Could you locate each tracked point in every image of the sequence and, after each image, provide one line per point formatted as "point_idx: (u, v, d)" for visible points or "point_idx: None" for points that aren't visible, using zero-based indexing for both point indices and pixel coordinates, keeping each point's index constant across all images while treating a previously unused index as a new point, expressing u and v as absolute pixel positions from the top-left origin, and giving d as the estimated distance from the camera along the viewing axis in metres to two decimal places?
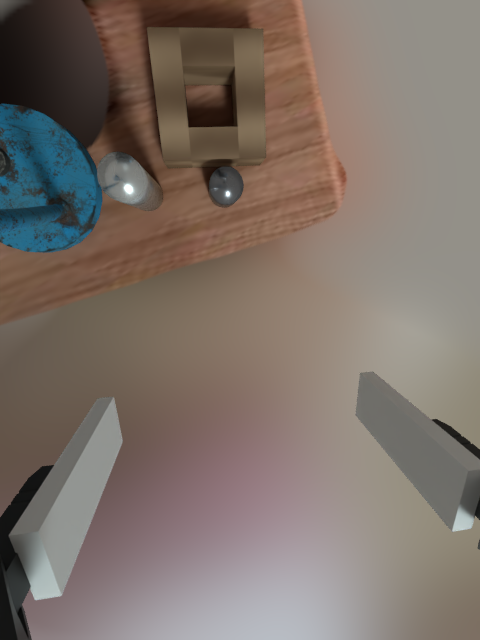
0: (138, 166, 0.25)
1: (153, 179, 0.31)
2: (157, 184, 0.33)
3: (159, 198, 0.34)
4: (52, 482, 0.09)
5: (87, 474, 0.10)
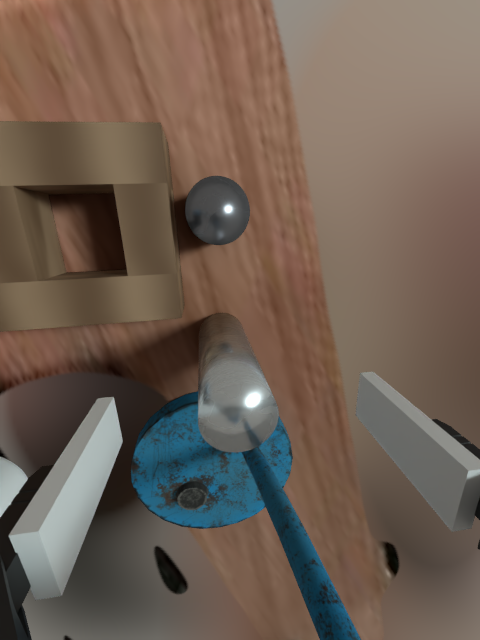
0: (220, 391, 0.13)
1: (211, 336, 0.20)
2: (213, 325, 0.21)
3: (232, 323, 0.22)
4: (52, 482, 0.09)
5: (87, 474, 0.10)
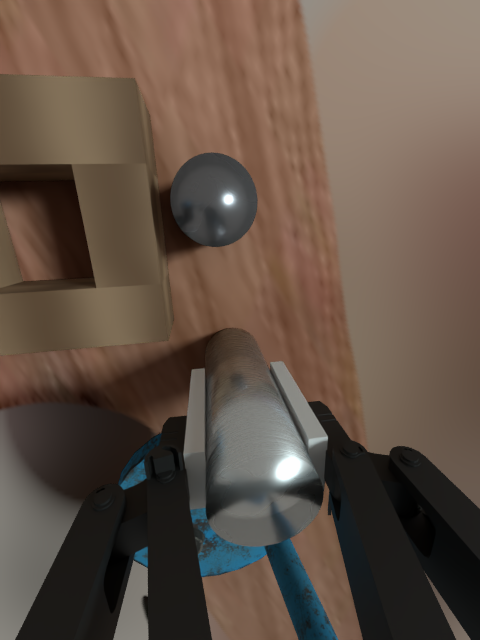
0: (240, 468, 0.09)
1: (222, 362, 0.15)
2: (224, 347, 0.17)
3: (247, 343, 0.18)
4: (193, 423, 0.12)
5: None
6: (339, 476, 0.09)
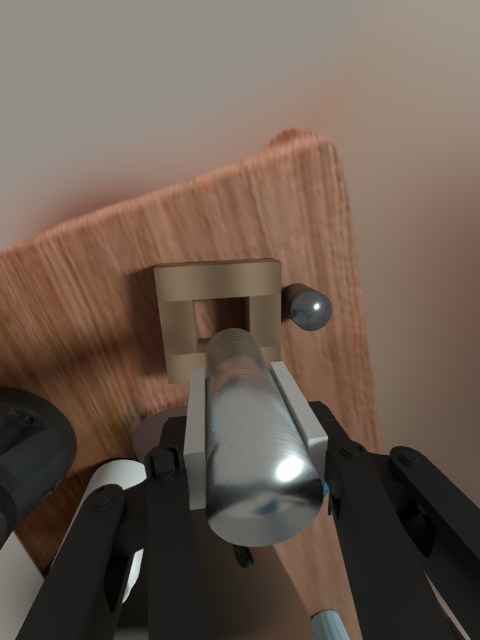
0: (240, 468, 0.09)
1: (222, 362, 0.15)
2: (224, 346, 0.17)
3: (247, 343, 0.18)
4: (193, 423, 0.12)
5: None
6: (339, 476, 0.09)
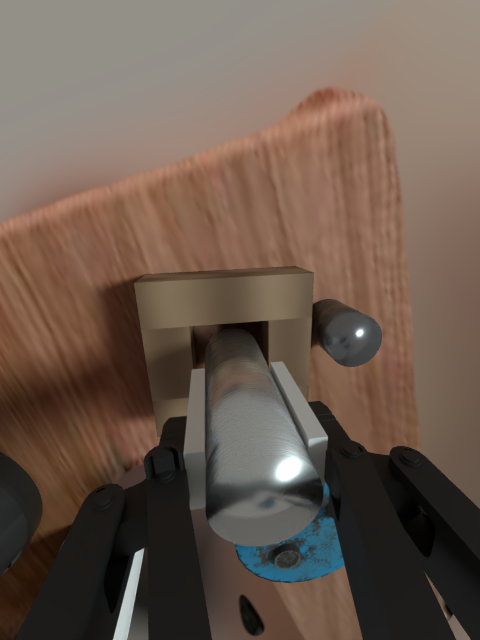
0: (240, 467, 0.09)
1: (222, 362, 0.15)
2: (224, 346, 0.17)
3: (247, 343, 0.18)
4: (193, 423, 0.12)
5: None
6: (339, 476, 0.09)
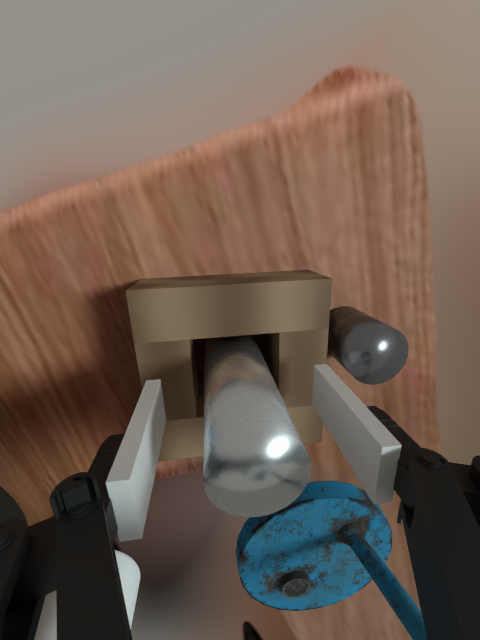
0: (234, 441, 0.10)
1: (220, 354, 0.16)
2: (222, 340, 0.18)
3: (244, 337, 0.19)
4: (128, 445, 0.10)
5: (150, 442, 0.12)
6: (414, 483, 0.09)
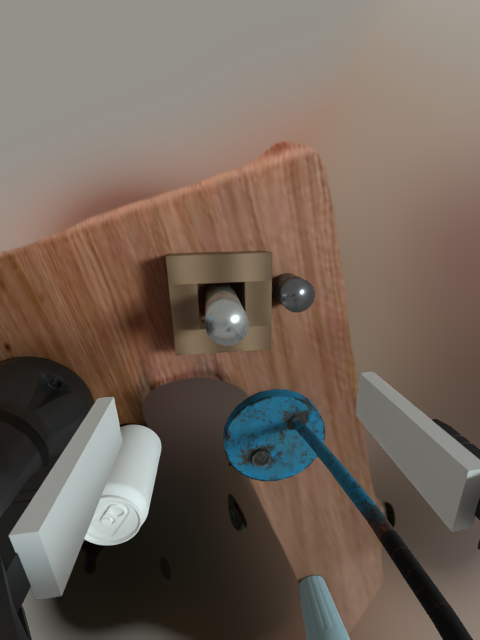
0: (217, 308, 0.25)
1: (213, 291, 0.31)
2: (215, 287, 0.33)
3: (227, 286, 0.34)
4: (52, 482, 0.09)
5: (87, 474, 0.10)
6: None
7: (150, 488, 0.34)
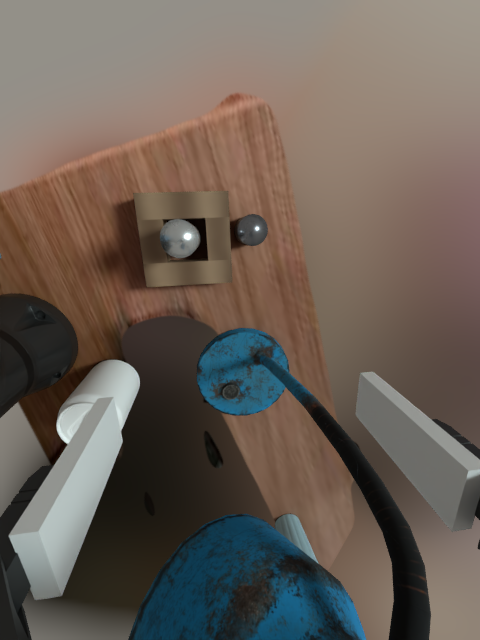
0: (169, 222, 0.29)
1: None
2: None
3: None
4: (52, 482, 0.09)
5: (87, 474, 0.10)
6: None
7: (126, 405, 0.38)
